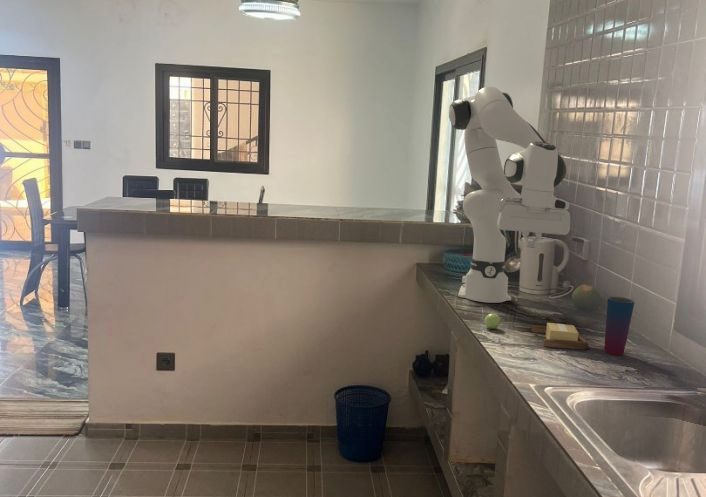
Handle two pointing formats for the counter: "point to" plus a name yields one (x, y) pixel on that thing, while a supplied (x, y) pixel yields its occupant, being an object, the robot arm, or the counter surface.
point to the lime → (492, 321)
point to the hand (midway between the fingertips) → (530, 247)
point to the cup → (617, 324)
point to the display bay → (561, 343)
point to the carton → (561, 332)
